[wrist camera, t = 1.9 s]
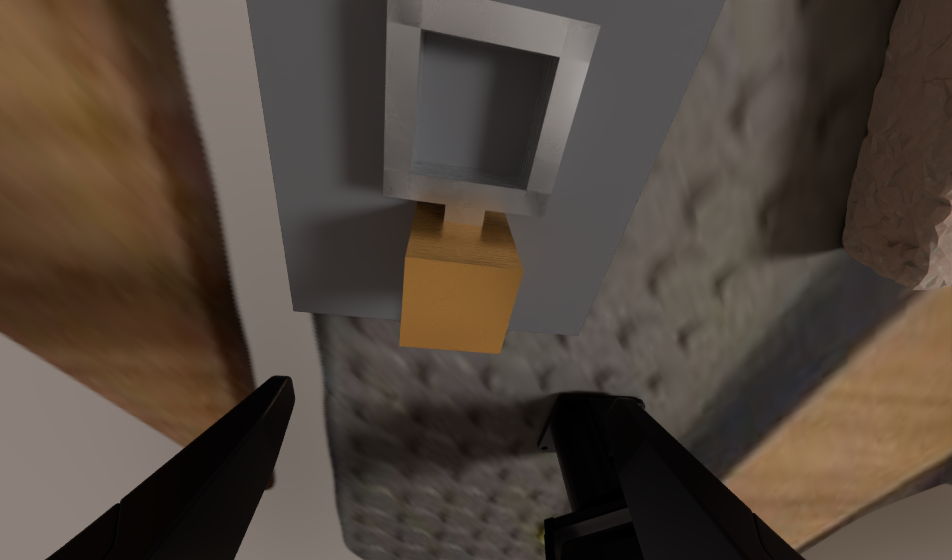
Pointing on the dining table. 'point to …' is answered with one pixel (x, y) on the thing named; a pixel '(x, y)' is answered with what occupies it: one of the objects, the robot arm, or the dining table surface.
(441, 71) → the plate
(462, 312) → the grey and orange frame
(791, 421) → the dining table surface
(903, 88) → the brick
